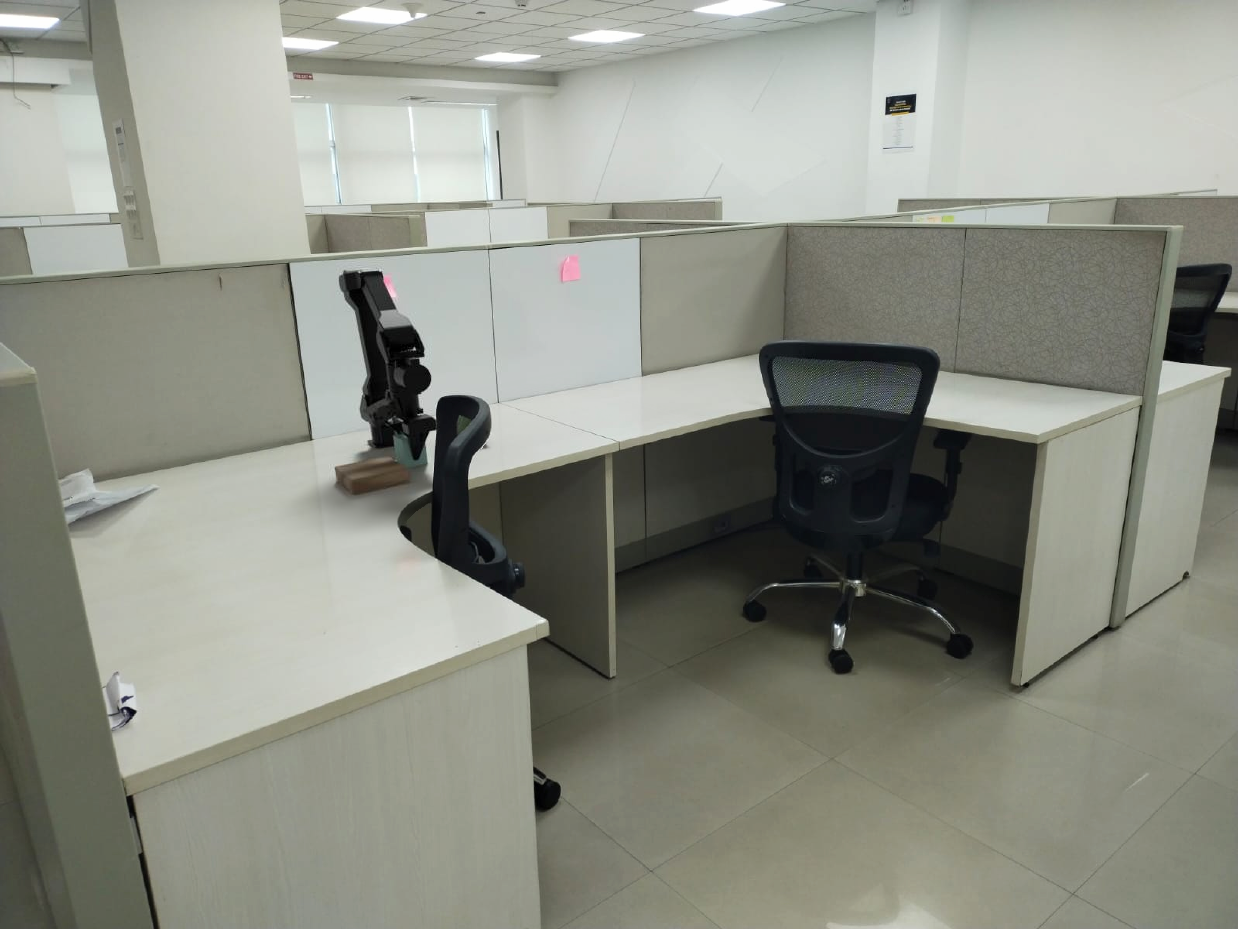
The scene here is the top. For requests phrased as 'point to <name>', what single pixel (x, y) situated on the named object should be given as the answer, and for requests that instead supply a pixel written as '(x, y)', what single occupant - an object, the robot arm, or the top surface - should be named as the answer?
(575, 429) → the top surface
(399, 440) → the teal block
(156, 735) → the top surface
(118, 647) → the top surface
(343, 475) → the walnut base
